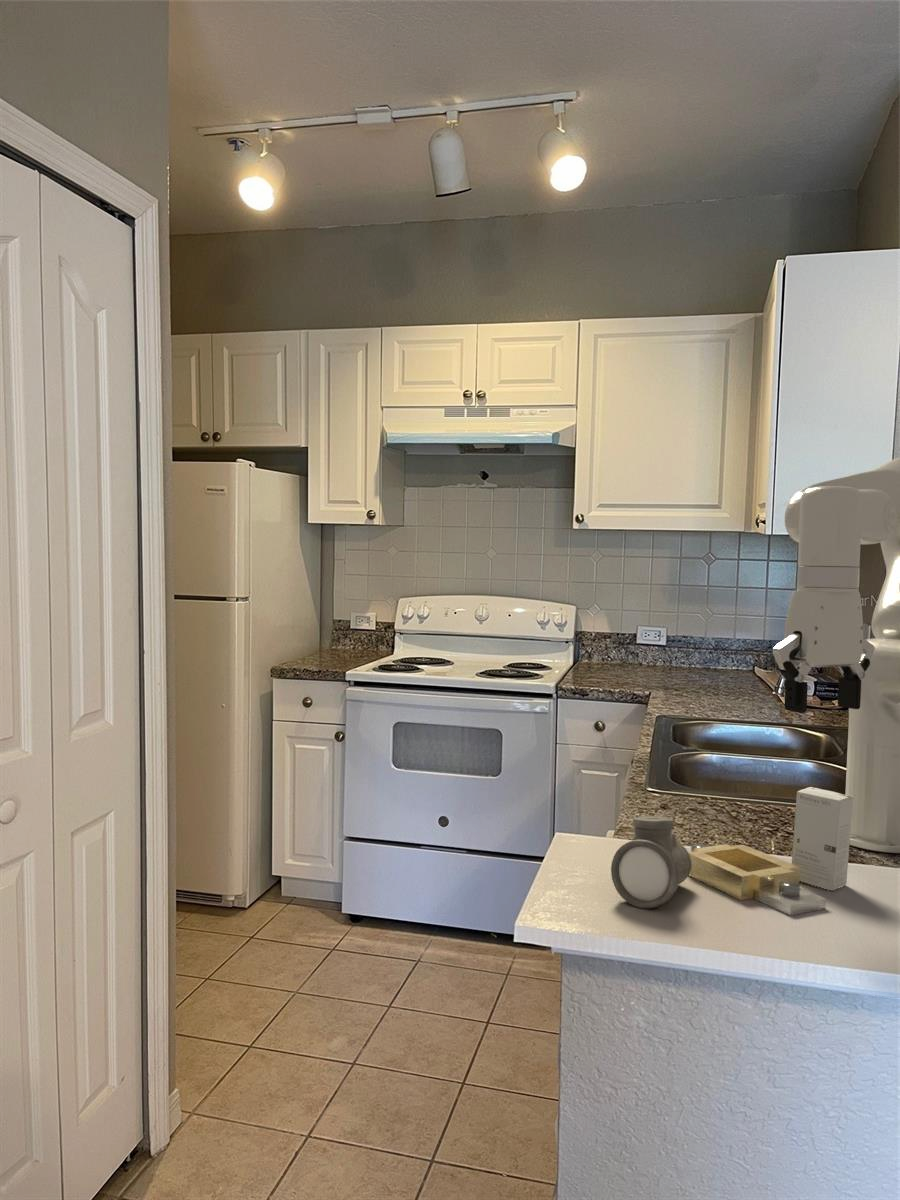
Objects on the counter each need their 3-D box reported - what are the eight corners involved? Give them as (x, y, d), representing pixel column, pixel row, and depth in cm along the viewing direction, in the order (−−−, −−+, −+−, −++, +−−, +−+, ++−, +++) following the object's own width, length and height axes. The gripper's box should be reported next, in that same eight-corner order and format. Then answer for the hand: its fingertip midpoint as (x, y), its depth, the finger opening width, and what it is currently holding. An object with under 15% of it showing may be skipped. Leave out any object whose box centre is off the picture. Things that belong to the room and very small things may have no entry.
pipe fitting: (673, 914, 104) (672, 825, 105) (609, 904, 108) (609, 819, 109) (704, 896, 114) (703, 815, 115) (644, 888, 118) (644, 810, 119)
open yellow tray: (711, 852, 129) (712, 832, 129) (837, 906, 109) (838, 882, 109) (657, 860, 124) (658, 839, 124) (778, 917, 105) (779, 892, 105)
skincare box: (789, 879, 118) (793, 790, 118) (804, 872, 121) (808, 785, 121) (834, 893, 114) (839, 800, 113) (849, 885, 117) (854, 794, 116)
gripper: (850, 580, 123) (845, 702, 124) (757, 579, 116) (752, 708, 117) (898, 582, 116) (892, 710, 117) (801, 580, 109) (796, 717, 110)
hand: (822, 709), depth 117 cm, fingers open, 9 cm apart
